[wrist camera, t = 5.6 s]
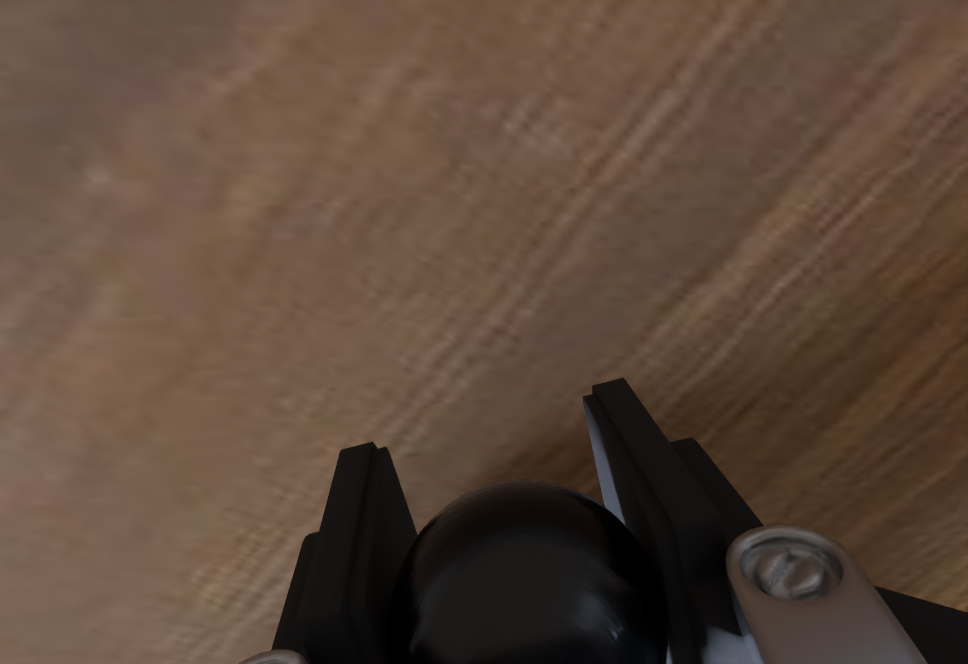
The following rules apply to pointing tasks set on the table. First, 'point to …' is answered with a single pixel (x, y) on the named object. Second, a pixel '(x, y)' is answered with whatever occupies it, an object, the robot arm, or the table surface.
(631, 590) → the lever
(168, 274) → the table surface
